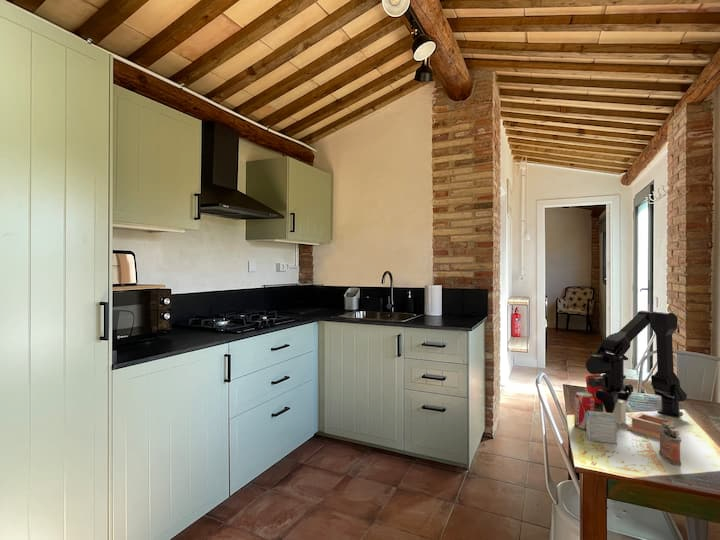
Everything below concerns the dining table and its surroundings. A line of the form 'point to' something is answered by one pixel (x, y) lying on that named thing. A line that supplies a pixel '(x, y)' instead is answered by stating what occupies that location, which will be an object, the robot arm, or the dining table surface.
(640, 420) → the dock
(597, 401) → the red bowl
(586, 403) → the beverage can
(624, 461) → the dining table surface
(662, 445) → the lighter
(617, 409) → the plug
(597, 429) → the medicine box
